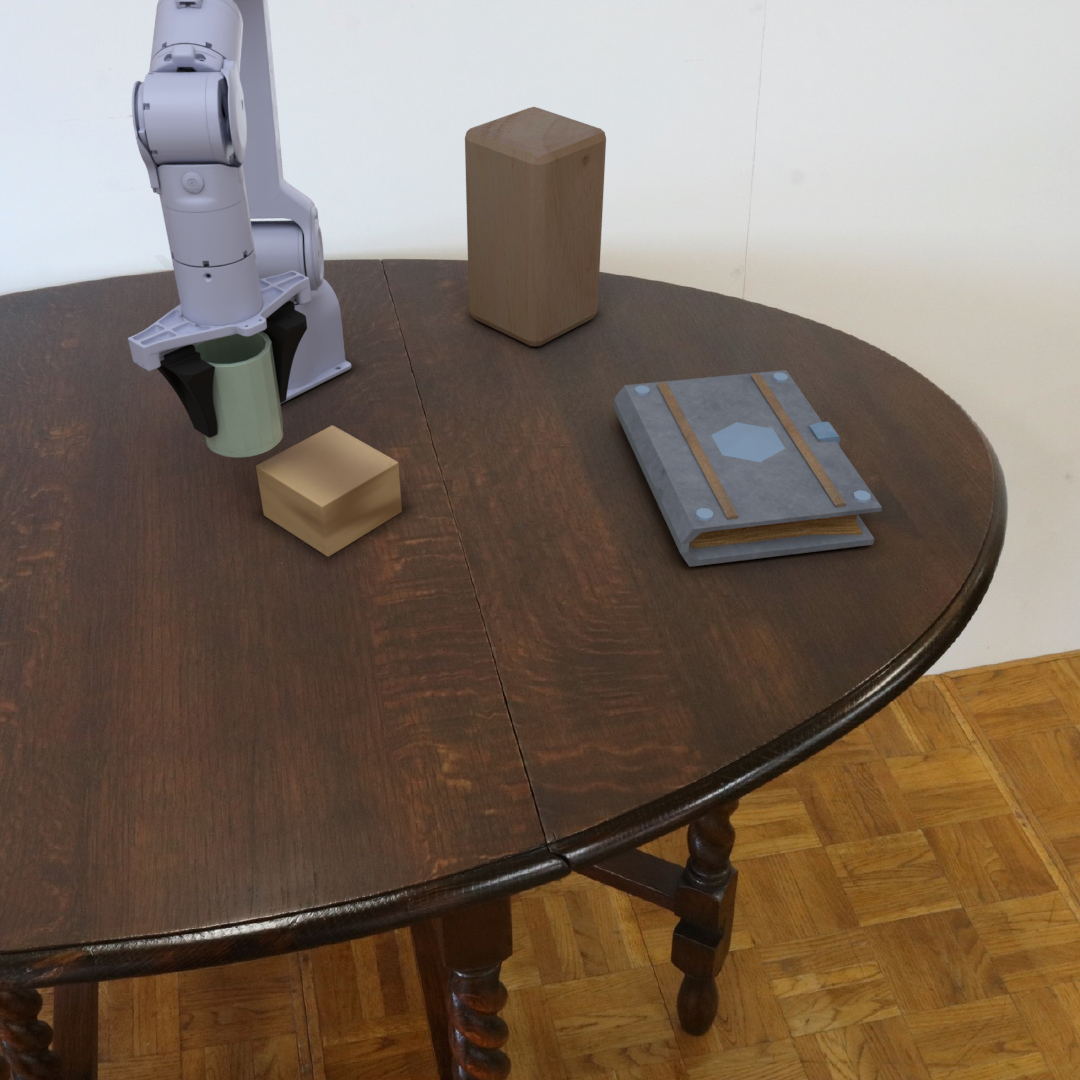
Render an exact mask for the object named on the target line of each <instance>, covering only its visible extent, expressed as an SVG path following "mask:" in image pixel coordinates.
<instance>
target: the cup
mask: <svg viewBox="0 0 1080 1080" xmlns="http://www.w3.org/2000/svg"><path fill="white" fill-rule="evenodd" d="M195 351H196V352H200V355H201V359H202V360H204V361H206V362H207V363H209V364H211V365H213V366H214V367H215V371H214V377H213V403H214V409H215V414H216V419H217V435H215V436H213V437H211V438H208V437H207V436H205V435H204V434H202V435H203V437H204V442H205V445H206V447H207V448H208V449H209V450H210V451H211V452H213V453H215V454H217V455H219V456H222V457H226V458H240V459H241V458H250V457H255V456H259V455H262V454H264V453H267V452H269V451H270V450H272V449H274V448H275V447H276V446H277V445H279V443H280V442H281V441H282V439H283V437H284V434H285V433H284V420H283V413H282V412H283V411H282V404H280V398H279V391H278V384H277V377H276V370H275V363H274V356H273V349H272V342H271V340H270V338H269V337H268V335H267V334H266V333H264V332H262V331H261V332H259V333H256V334H254V335H252V336H249V337H245V336H242V335H240V334H235V335H230V336H226V337H222V338H217V339H213V340H208V341H205V342H203V343H201V344H199V345H196V346H195Z"/></svg>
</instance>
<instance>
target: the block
mask: <svg viewBox="0 0 1080 1080" xmlns="http://www.w3.org/2000/svg"><path fill="white" fill-rule="evenodd" d="M255 470H256V477H257V483H258V488H259V494H260V495H259V496H260V500H261V506H262V512H263V516H264V517H266V518H267V519H269V520H270V521H271V522H273V523H274V524H276V525H277V526H279V527H281V528H282V529H284V530H286V531H287V532H289V533H290V534H292V535H293V536H294V537H296V538H298V539H299V540H301V541H302V542H304V543H305V544H306V545H309V546H310V547H312V548H313V549H315V550H316V551H317V552H319V553H321V554H322V555H324V556H325V557H327V558H329V557H331V556H332V555H334V554H336V553H338V552H339V551H341V550H342V549H344V548H345V547H347V546H349V545H350V544H352V543H353V542H355V541H357V540H359V539H360V538H362V537H363V536H365V535H366V534H368V533H370V532H371V531H373V530H375V529H376V528H378V527H379V526H381V525H383V524H384V523H386V522H388V521H389V520H391V519H392V518H394V517H396V516H397V515H399V514H401V513H402V512H403V506H402V490H401V477H400V463H399V461H398V460H396V459H393V458H392V457H390V456H388V455H387V454H384V453H383V452H381V451H379V450H377V449H376V448H374V447H372V446H371V445H369V444H367V443H365V442H364V441H361V440H360V439H358V438H356V437H355V436H352V435H351V434H350V433H347V432H346V431H344V430H342V429H340V428H339V427H337V426H335V425H334V424H333V425H330V426H328V427H326V428H324V429H323V430H320V431H318V432H317V433H315V434H313V435H311V436H309V437H307V438H305V439H304V440H301V441H300V442H298V443H296V444H294V445H292V446H290V447H288V448H286V449H284V450H282V451H281V452H279V453H277V454H275V455H274V456H273V455H272V456H271V457H269V458H267V459H265V460H264V461H262V462H260V463H258V464H256V465H255Z"/></svg>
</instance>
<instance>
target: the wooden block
mask: <svg viewBox="0 0 1080 1080" xmlns="http://www.w3.org/2000/svg"><path fill="white" fill-rule="evenodd" d="M606 147H607V136H606V132H605V131H604V130H603V129H602V128H600V127H596V126H594V125H591V124H588V123H585V122H583V121H579V120H576V119H573V118H570V117H567V116H564V115H561V114H558V113H555V112H552V111H549V110H546V109H543V108H541V107H538V106H537V107H536V106H532V107H527V108H524V109H521V110H518V111H516V112H513V113H510V114H507V115H505V116H501V117H498V118H496V119H493V120H490V121H487V122H484V123H481V124H478V125H476V126H473V127H470V128H469V129H467V130H466V132H465V136H464V158H465V159H464V160H465V163H464V164H465V196H466V197H465V198H466V199H465V200H466V202H465V203H466V235H467V236H466V237H467V238H466V239H467V240H466V241H467V272H468V273H467V278H468V279H467V283H468V311H469V314H470V316H471V317H472V318H473V319H474V320H475V321H478V322H480V323H482V324H484V325H486V326H488V327H490V328H492V329H494V330H496V331H498V332H500V333H503V334H505V335H507V336H509V337H510V338H513V339H515V340H517V341H519V342H521V343H523V344H525V345H528V346H529V347H541V346H543V345H545V344H547V343H549V342H551V341H552V340H554V339H556V338H558V337H560V336H562V335H564V334H566V333H568V332H570V331H571V330H574V329H575V328H577V327H580V326H581V325H583V324H585V323H587V322H589V321H591V320H593V319H594V318H595V317H596V315H597V313H598V309H599V289H600V286H599V285H600V271H601V268H600V267H601V251H602V250H601V249H602V232H603V231H602V227H603V211H604V189H605V173H606V172H605V169H606V153H607V152H606V150H607V149H606Z"/></svg>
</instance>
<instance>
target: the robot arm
mask: <svg viewBox="0 0 1080 1080" xmlns="http://www.w3.org/2000/svg"><path fill="white" fill-rule="evenodd" d="M269 8H270V7H269V0H158V1H157V4H156V10H155V17H154V18H155V19H154V28H153V37H152V45H151V52H150V53H151V54H150V62H149V69H148V72H147V73H146V74H145V77H144V79H143V81H140V80H136V81H134V83H133V87H132V91H131V117H132V125H133V130H134V135H135V140H136V145H137V148H138V151H139V154H140V157H141V159H142V161H143V164H144V165H145V168H146V171H147V175H148V180H149V185H150V188H151V189H152V192H153V193H154V194H157V195H158V196H159V199H160V200H159V201H160V206H161V210H162V216H163V219H164V221H163V222H164V226H165V231H166V236H167V241H168V242H167V243H168V246H169V253H170V257H171V263H172V268H173V273H174V278H175V284H176V288H177V293H178V294H177V295H178V299H179V304H178V305H177V306H175V307H174V308H173V309H171V310H170V311H168V312H167V313H166V314H165V315H163V316H161V317H160V318H159V319H158V320H156V321H155V322H154V323H152V324H151V325H149V326H148V327H147V328H145V329H143V330H142V331H140V332H138V333H136V334H134V335H131V336H129V337H128V338H127V340H128V341H127V342H128V345H129V349H130V355H131V358H132V362H133V363H134V364H136V365H137V366H139V367H140V368H142V369H144V370H146V371H148V372H152V371H155V370H156V369H157V371H159V373H161V375H162V376H163V377H164V378H165V380H166V381H167V383H168V384H169V385H170V387H171V388H172V389H173V391H174V392H175V394H176V395H177V397H178V399H179V400H180V402H181V404H182V405H183V408H184V409H185V411H186V413H187V415H188V417H189V419H190V422H191V424H192V426H193V429H194V430H196V431H198V432H199V434H202V435H203V434H204V435H205V436H207V437H208V438H211V437H213V436H215V435H217V419H216V414H215V409H214V403H213V377H214V371H215V367H214V366H213V365H211V364H209V363H207V362H206V361H204V360H202V359H201V355H200V352H196V351H195V346H196V345H199V344H201V343H203V342H205V341H208V340H213V339H217V338H222V337H226V336H230V335H235V334H240V335H242V336H245V337H249V336H252V335H254V334H256V333H259V332H261V331H262V332H264V333H266V334H267V335H268V337H269V338H270V340H271V342H272V349H273V356H274V363H275V370H276V377H277V384H278V391H279V398H280V405H282V404H283V403H285V402H287V401H289V400H291V399H293V398H295V397H297V396H299V395H301V394H303V393H305V392H307V391H309V390H311V389H314V388H315V387H317V386H319V385H321V384H324V383H326V382H327V381H329V380H332V379H333V378H335V377H337V376H339V375H341V374H343V373H345V372H347V371H349V370H351V368H352V363H351V362H350V361H348V360H346V352H345V342H344V341H345V340H344V332H343V321H342V311H341V306H340V302H339V299H338V297H337V294H336V293H335V291H334V289H333V287H332V286H331V284H330V283H329V282H328V281H327V280H326V279H325V278H324V277H325V257H324V243H323V235H322V230H321V226H320V222H319V221H320V220H319V212H318V211H319V210H318V208H317V207H316V206H315V203H314V200H312V198H310V197H309V196H307V194H305V193H303V192H302V191H300V190H299V189H297V188H296V187H295V186H293V185H292V184H291V183H289V182H288V181H286V179H284V171H283V170H284V169H283V158H282V157H283V156H282V148H281V147H282V145H281V135H280V134H281V133H280V124H279V111H278V101H277V89H276V77H275V66H274V53H273V44H272V32H271V30H272V29H271V19H270V9H269ZM252 219H253V220H252ZM255 219H259V220H255ZM260 219H261V220H260ZM262 219H263V220H262ZM264 219H265V220H264ZM266 219H285V220H266ZM204 435H203V436H204Z"/></svg>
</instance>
